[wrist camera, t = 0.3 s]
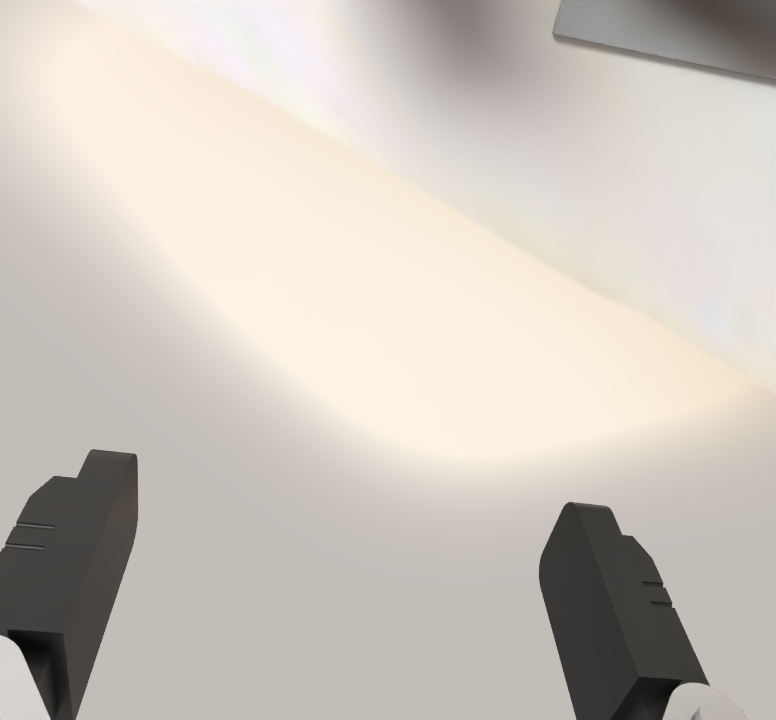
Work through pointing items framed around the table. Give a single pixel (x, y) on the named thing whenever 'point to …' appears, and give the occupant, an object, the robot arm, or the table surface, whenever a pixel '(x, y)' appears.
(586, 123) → the table surface
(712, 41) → the well
